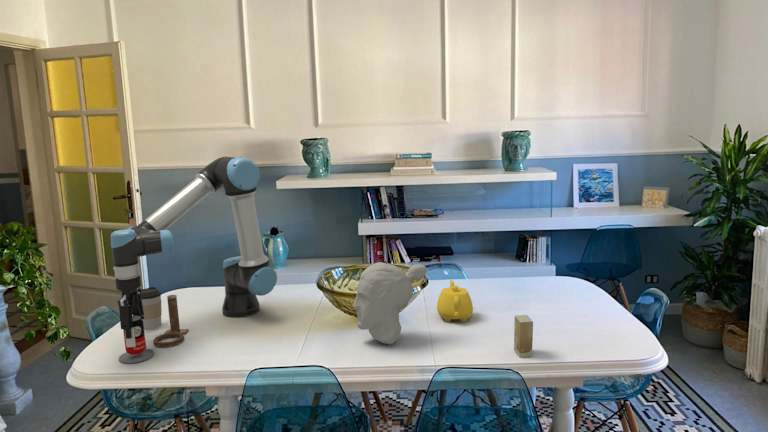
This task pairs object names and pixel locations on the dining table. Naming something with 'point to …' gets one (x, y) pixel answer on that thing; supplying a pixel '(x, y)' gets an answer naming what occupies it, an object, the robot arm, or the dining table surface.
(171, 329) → the ring holder
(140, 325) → the beverage can
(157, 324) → the coffee cup
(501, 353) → the dining table surface
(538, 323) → the dining table surface
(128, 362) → the slate coaster
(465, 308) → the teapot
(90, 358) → the dining table surface
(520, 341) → the skincare box
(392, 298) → the bust
